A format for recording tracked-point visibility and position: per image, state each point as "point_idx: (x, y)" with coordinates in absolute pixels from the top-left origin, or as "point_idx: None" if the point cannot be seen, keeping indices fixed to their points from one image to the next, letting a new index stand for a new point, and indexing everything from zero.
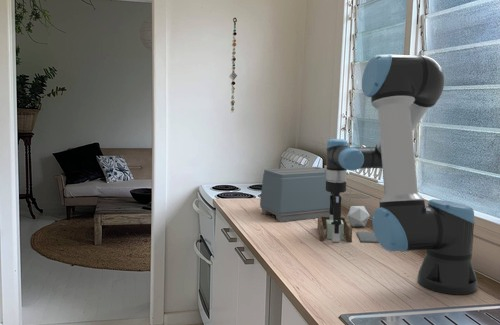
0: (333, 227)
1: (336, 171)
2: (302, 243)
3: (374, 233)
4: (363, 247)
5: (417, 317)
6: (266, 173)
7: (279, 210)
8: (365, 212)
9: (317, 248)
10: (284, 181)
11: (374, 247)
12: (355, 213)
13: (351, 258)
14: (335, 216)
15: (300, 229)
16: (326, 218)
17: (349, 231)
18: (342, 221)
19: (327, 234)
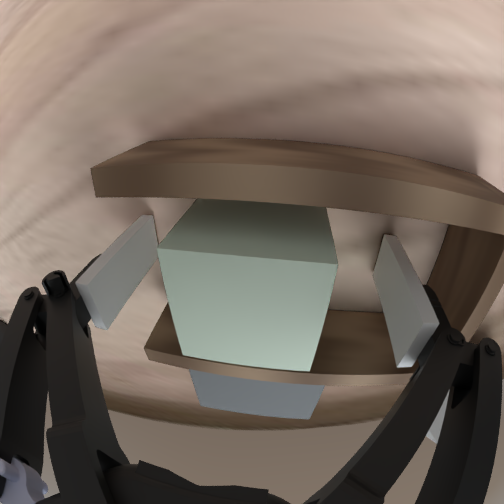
0: (90, 271)
1: None
2: (92, 45)
3: (303, 397)
4: (121, 321)
5: None
6: None
7: None
8: (426, 435)
9: (42, 137)
10: None
11: (137, 349)
12: (443, 413)
13: (17, 253)
14: (12, 335)
15: (452, 44)
16: (484, 270)
17: (152, 337)
18: (259, 365)
19: (195, 204)
